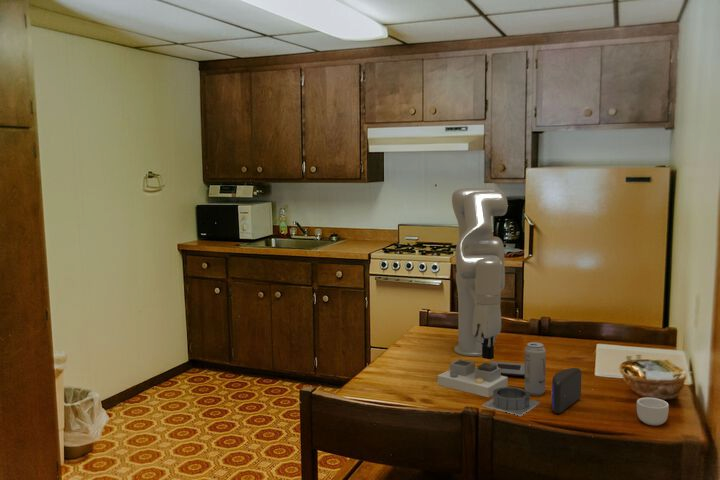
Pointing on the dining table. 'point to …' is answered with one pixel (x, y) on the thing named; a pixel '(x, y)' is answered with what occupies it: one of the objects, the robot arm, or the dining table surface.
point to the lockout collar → (511, 401)
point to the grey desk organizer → (472, 378)
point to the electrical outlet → (510, 368)
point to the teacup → (652, 410)
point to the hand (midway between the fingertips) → (487, 358)
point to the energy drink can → (535, 368)
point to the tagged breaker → (487, 367)
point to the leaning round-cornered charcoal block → (565, 389)
